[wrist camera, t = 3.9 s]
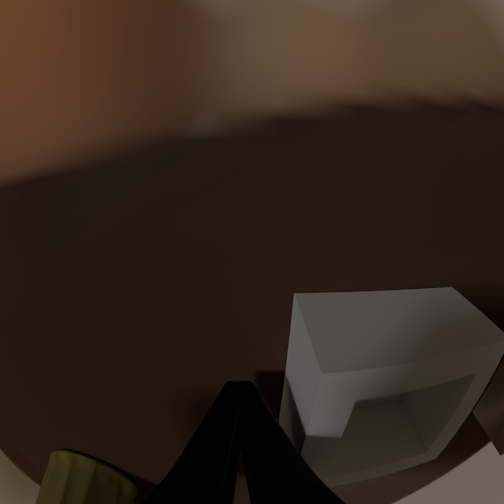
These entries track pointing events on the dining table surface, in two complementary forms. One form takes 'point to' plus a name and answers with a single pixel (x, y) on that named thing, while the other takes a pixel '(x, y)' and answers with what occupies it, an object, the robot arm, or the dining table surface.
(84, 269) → the dining table surface
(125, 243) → the dining table surface
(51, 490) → the olive ribbed cylinder
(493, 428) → the backstop
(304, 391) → the socket block
